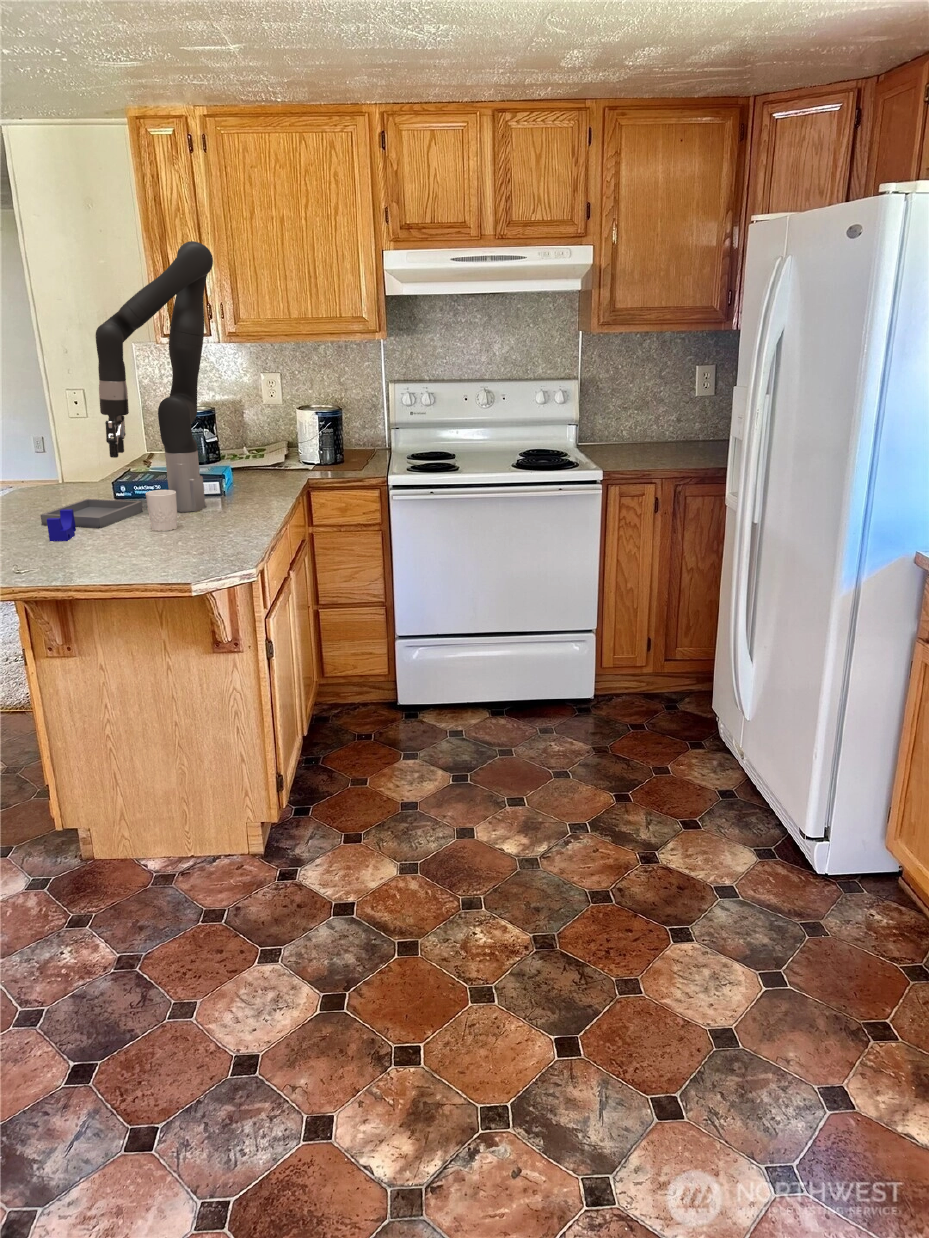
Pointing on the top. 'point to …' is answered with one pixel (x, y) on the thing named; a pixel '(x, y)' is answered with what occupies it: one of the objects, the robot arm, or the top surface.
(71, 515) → the blue curved block
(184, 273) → the robot arm
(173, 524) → the white cup
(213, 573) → the top surface
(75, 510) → the tray
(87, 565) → the top surface
